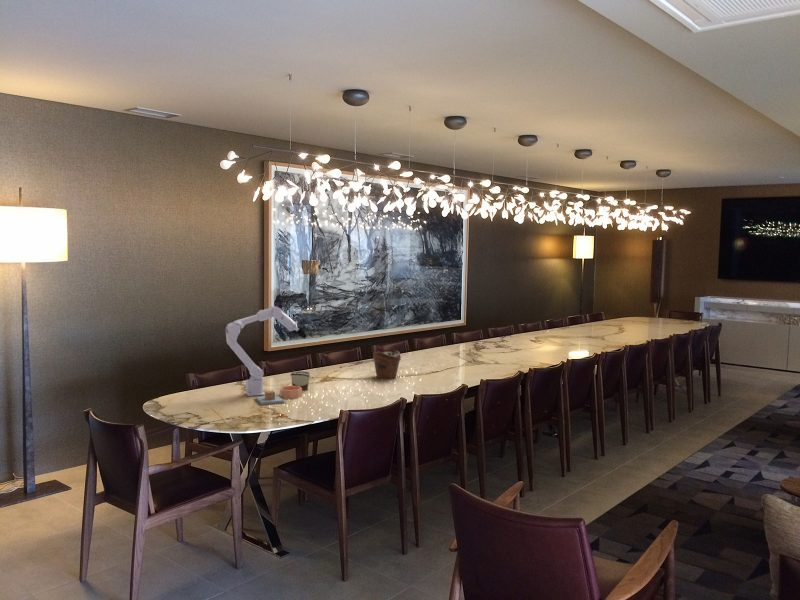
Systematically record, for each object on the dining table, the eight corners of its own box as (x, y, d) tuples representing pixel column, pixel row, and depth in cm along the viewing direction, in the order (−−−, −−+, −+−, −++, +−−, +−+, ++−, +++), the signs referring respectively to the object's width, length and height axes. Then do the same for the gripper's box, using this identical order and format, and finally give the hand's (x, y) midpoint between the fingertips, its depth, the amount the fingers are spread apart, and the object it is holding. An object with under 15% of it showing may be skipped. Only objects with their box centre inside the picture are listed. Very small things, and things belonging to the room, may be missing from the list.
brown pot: (402, 374, 430) (402, 347, 428) (399, 380, 410) (399, 352, 409) (375, 373, 432) (375, 347, 430) (371, 380, 412) (371, 352, 410)
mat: (260, 405, 343) (260, 404, 343) (254, 399, 355) (254, 398, 355) (285, 403, 349) (285, 402, 349) (279, 397, 361) (279, 396, 361)
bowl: (283, 399, 357) (283, 391, 357) (278, 394, 368) (278, 386, 368) (303, 397, 362) (303, 389, 362) (297, 392, 373) (297, 385, 372)
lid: (261, 404, 344) (261, 395, 344) (256, 399, 355) (256, 390, 354) (283, 402, 349) (283, 393, 349) (277, 397, 360) (277, 388, 359)
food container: (313, 388, 385) (313, 371, 384) (309, 390, 379) (309, 373, 378) (294, 386, 388) (294, 370, 387) (290, 388, 382) (290, 372, 381)
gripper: (294, 317, 366) (311, 332, 371) (287, 314, 379) (304, 329, 384) (286, 327, 364) (304, 342, 369) (280, 324, 377) (297, 338, 382)
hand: (303, 336), depth 376 cm, fingers open, 7 cm apart
